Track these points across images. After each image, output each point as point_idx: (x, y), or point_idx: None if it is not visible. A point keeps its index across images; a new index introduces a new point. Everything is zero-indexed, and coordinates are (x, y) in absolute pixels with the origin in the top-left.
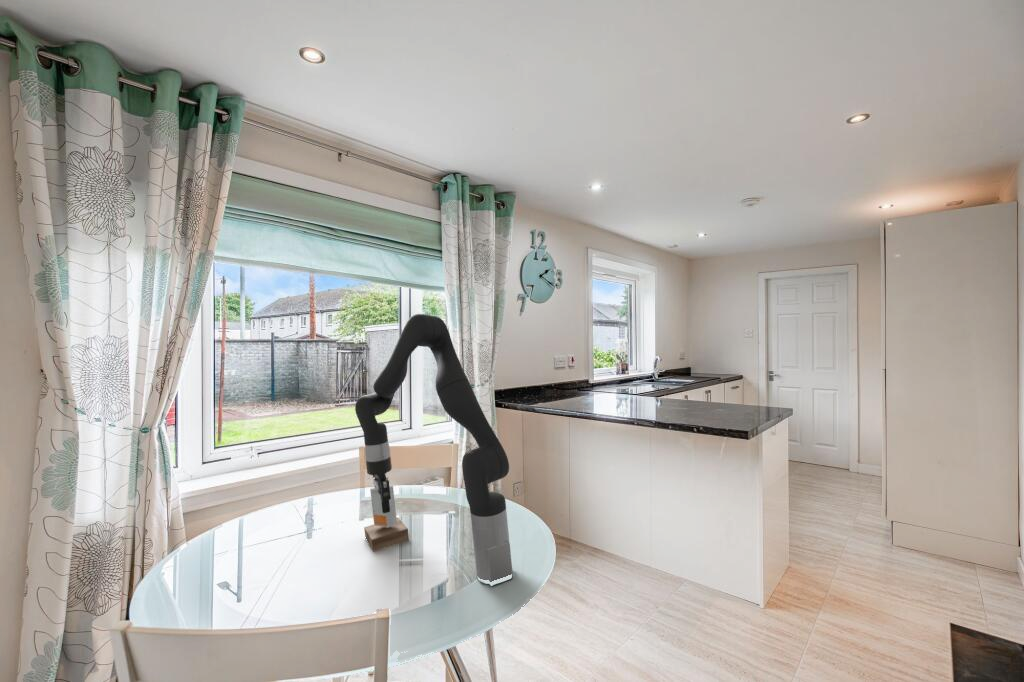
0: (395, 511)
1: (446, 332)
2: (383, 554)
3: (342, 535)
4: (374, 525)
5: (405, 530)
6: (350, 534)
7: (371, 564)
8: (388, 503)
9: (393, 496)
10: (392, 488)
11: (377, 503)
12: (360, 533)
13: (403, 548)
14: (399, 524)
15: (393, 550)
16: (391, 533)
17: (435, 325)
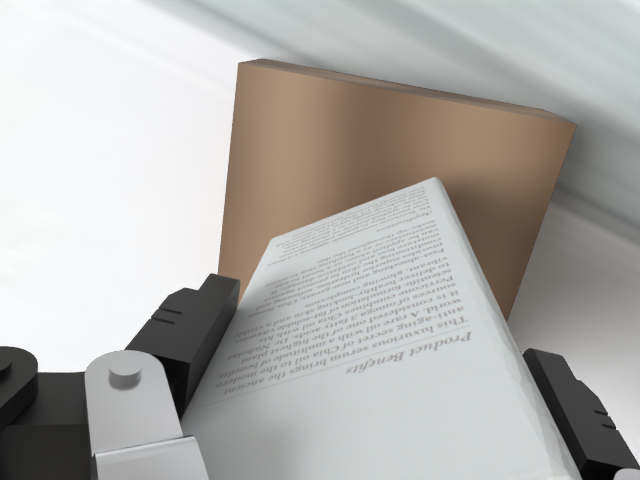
0: (457, 217)
1: None
2: (566, 326)
3: (80, 370)
4: (242, 284)
5: (565, 146)
6: (100, 337)
7: (611, 417)
8: (598, 436)
9: (508, 327)
10: (567, 452)
11: None
12: (132, 293)
13: (625, 204)
14: (413, 134)
15: (580, 262)
16: (520, 264)
17: None
